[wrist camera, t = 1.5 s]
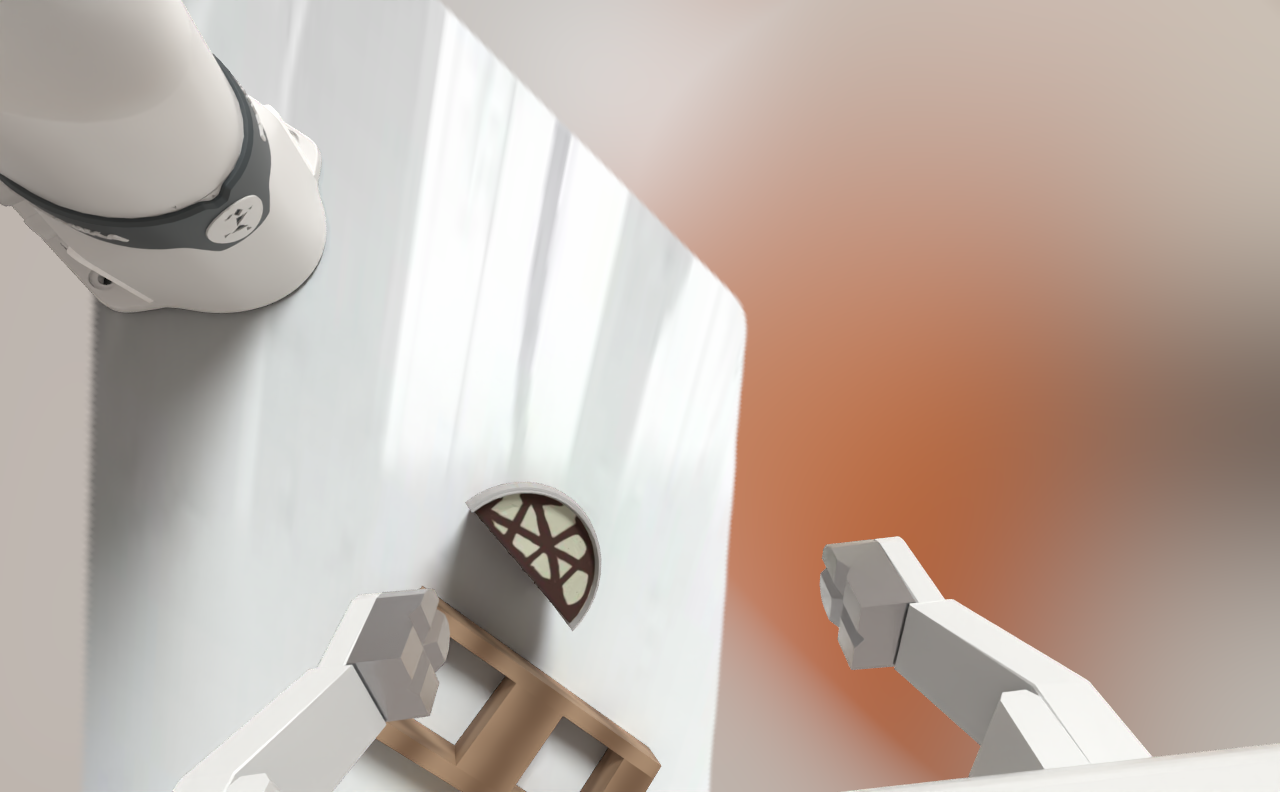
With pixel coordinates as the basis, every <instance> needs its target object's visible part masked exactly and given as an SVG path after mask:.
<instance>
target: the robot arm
mask: <svg viewBox="0 0 1280 792" xmlns="http://www.w3.org/2000/svg"><path fill="white" fill-rule="evenodd" d="M321 164H322V157H321V152H320V150H319V149H318V147H317V146H316V144H315V143H314V142H313V141H312V140H311V139H310V138H308V137H307V136H305V135H304V134H302V133H301V132H299V131H298V130H296V129H294V128H293V127H291V126H290V125H288V124H287V123H285V122H284V121H283V120H282V118H281V117H280V115H279V114H278V113H277V111H276V110H275V109H274V108H273V107H272V106H270V105H262V104H261V103H260V102H258V101H257V100H255V99H254V98H252V97H251V96H249V95H247V94H246V92H245V90H244V89H243V87H242V86H241V85H240V83H238V81H237V80H236V79H235V77H234V76H233V75H232V74H231V73H230V71H229V70H228V69H227V68H226V67H225V66H224V64H223V63H222V62H221V61H220V60H219V59H218V58H217V57H216V56H215V55H214V54H213V53H212V52H211V51H210V49H209V47H208V45H207V44H206V42H205V40H204V38H203V37H202V35H201V33H200V31H199V30H198V28H197V26H196V24H195V23H194V21H193V19H192V17H191V16H190V14H189V12H188V10H187V9H186V7H185V5H184V3H183V2H182V0H0V204H2V205H4V206H12V207H13V208H14V209H15V210H16V211H17V212H18V213H19V214H20V215H21V216H22V218H23V219H24V222H25V224H26V225H27V226H28V227H29V228H30V229H31V230H33V231H34V232H35V233H36V234H37V235H39V236H40V237H41V238H42V239H43V240H44V241H45V243H47V245H48V246H49V247H50V248H51V249H52V250H53V251H54V252H55V253H56V254H57V256H58V257H59V258H60V259H61V260H62V261H63V262H64V263H65V264H66V265H67V266H68V268H69V269H70V270H71V271H72V272H73V273H74V274H75V275H76V276H77V277H78V278H79V279H80V281H81V282H82V283H83V284H84V285H85V286H86V287H87V288H88V289H89V290H90V291H91V293H92V294H93V295H94V296H95V297H96V298H97V299H98V300H99V301H100V302H101V303H103V304H104V305H106V306H107V307H109V308H110V309H112V310H114V311H118V312H126V313H128V312H140V311H147V310H154V309H159V308H164V307H170V308H181V309H188V310H194V311H200V312H209V313H232V312H241V311H247V310H252V309H256V308H260V307H263V306H266V305H269V304H271V303H273V302H276V301H278V300H280V299H282V298H283V297H285V296H287V295H288V294H290V293H291V292H293V291H294V290H295V289H297V288H298V287H299V286H300V285H301V284H302V283H303V282H304V281H305V280H306V279H307V278H308V277H309V276H310V274H311V273H312V272H313V270H314V269H315V267H316V266H317V264H318V262H319V260H320V258H321V255H322V253H323V250H324V246H325V241H326V231H327V226H326V216H325V211H324V207H323V204H322V201H321V197H320V194H319V189H318V181H319V176H320V171H321ZM105 278H107V279H108V280H110V281H112V283H111V284H109V285H104V279H105ZM822 559H823V561H824V563H825V565H826V569H825V570H824V571H823V572H822V573H821V575H820V576H821V577H820V590H821V598H822V602H823V605H824V608H825V611H826V613H827V616H828V618H829V620H830V621H831V622H833V623H834V624H835V625H837V626H838V627H839V634H838V641H839V644H840V646H841V648H842V650H843V653H844V655H845V657H846V659H847V661H848V664H849V666H850V668H851V670H855V669H868V668H879V667H893V666H895V668H894V669H895V670H896V671H898V672H899V673H900V674H901V675H902V676H903V677H904V678H905V679H907V680H908V681H909V682H910V683H911V684H912V685H913V686H914V687H915V688H917V689H918V690H919V691H920V692H921V693H922V694H924V696H926V697H927V698H928V699H929V700H930V701H931V702H932V703H933V704H935V705H936V706H937V707H938V708H939V709H940V710H941V711H943V712H944V713H945V714H946V715H947V716H948V717H949V718H950V719H951V720H953V721H954V722H955V723H956V724H957V725H958V726H959V727H960V728H962V729H963V730H964V731H965V732H966V733H967V734H968V735H969V736H971V737H972V738H973V739H974V740H975V741H976V742H977V743H978V744H979V745H981V747H980V749H979V752H978V754H977V757H976V759H975V762H974V764H973V767H972V769H971V772H970V774H969V778H961V779H952V780H943V781H935V782H925V783H917V784H907V785H898V786H889V787H880V788H871V789H862V790H853V791H844V792H1280V743H1276V744H1268V745H1258V746H1250V747H1241V748H1231V749H1222V750H1213V751H1204V752H1195V753H1186V754H1177V755H1169V756H1159V757H1152V756H1151V755H1150V754H1149V752H1148V751H1147V750H1146V749H1145V748H1144V746H1142V744H1141V743H1140V742H1139V740H1138V739H1137V738H1136V737H1135V736H1134V735H1133V733H1132V732H1131V731H1130V730H1129V729H1128V727H1127V726H1126V725H1125V724H1124V723H1123V722H1122V720H1121V719H1120V718H1119V717H1118V715H1117V714H1116V713H1115V712H1114V711H1113V709H1112V708H1111V707H1110V706H1109V705H1108V703H1107V702H1106V701H1105V700H1104V699H1103V697H1102V696H1101V695H1100V694H1099V693H1098V691H1097V690H1096V689H1095V688H1094V687H1093V686H1092V684H1091V683H1090V682H1089V681H1088V680H1086V679H1085V678H1083V677H1081V676H1080V675H1078V674H1076V673H1074V672H1073V671H1071V670H1070V669H1068V668H1066V667H1064V666H1063V665H1061V664H1060V663H1058V662H1056V661H1054V660H1053V659H1051V658H1050V657H1048V656H1046V655H1045V654H1043V653H1041V652H1040V651H1038V650H1036V649H1035V648H1033V647H1031V646H1030V645H1028V644H1026V643H1024V642H1023V641H1021V640H1019V639H1018V638H1016V637H1015V636H1013V635H1011V634H1010V633H1008V632H1006V631H1005V630H1003V629H1001V628H1000V627H998V626H996V625H995V624H993V623H991V622H990V621H988V620H986V619H985V618H983V617H981V616H980V615H978V614H976V613H974V612H973V611H971V610H970V609H968V608H966V607H965V606H963V605H961V604H960V603H958V602H956V601H955V600H953V599H950V600H945V599H944V598H943V596H942V595H941V593H940V592H939V590H938V589H937V588H936V586H935V585H934V583H933V582H932V580H931V579H930V577H929V576H928V575H927V573H926V572H925V570H924V569H923V567H922V566H921V564H920V563H919V562H918V560H917V559H916V557H915V556H914V554H913V553H912V552H911V550H910V549H909V547H908V546H907V544H906V543H905V541H904V540H903V539H901V538H900V537H890V538H881V539H874V540H863V541H854V542H846V543H838V544H829V545H826V546H825V548H824V549H823V556H822ZM438 603H439V598H438V596H437V594H436V592H435V590H434V589H417V590H405V591H393V592H382V593H374V594H362V595H358V596H357V597H355V598H354V599H353V600H352V601H351V603H350V605H349V607H348V609H347V610H346V612H345V614H344V616H343V618H342V620H341V622H340V624H339V626H338V628H337V630H336V632H335V634H334V636H333V637H332V639H331V641H330V643H329V645H328V647H327V649H326V651H325V653H324V655H323V657H322V659H321V661H320V663H319V664H318V666H317V668H315V669H309V670H308V671H306V672H305V673H304V674H303V675H302V676H301V677H299V678H298V679H297V680H296V681H295V682H294V683H292V684H291V685H290V686H289V687H288V688H287V689H285V690H284V691H283V692H282V693H281V694H279V695H278V696H277V697H276V698H275V699H274V700H272V701H271V702H270V703H269V704H268V705H267V706H265V707H264V708H263V709H262V710H261V711H260V712H258V713H257V714H256V715H255V716H254V717H253V718H251V719H250V720H249V721H248V722H247V723H246V724H244V725H243V726H242V727H241V728H240V729H239V730H237V731H236V732H235V733H234V734H233V735H232V736H230V737H229V738H228V739H227V740H226V741H225V742H223V743H222V744H221V745H220V746H219V747H217V748H216V749H215V750H214V751H213V752H212V753H210V754H209V755H208V756H207V757H206V758H205V759H203V760H202V761H201V762H200V763H199V764H198V765H196V766H195V767H194V768H193V769H192V770H191V771H189V772H188V773H187V774H186V775H185V776H184V777H182V778H181V779H180V780H179V782H178V783H177V785H176V786H175V788H174V789H173V791H172V792H333V791H334V789H335V788H336V787H337V786H338V784H339V783H340V782H341V781H342V779H343V778H344V777H345V776H346V774H347V773H348V772H349V771H350V769H351V768H352V767H353V766H354V764H355V763H356V762H357V761H358V760H359V758H360V757H361V756H362V755H363V753H364V752H365V751H366V750H367V748H368V747H369V746H370V745H371V743H372V742H373V741H374V740H375V738H376V737H377V736H378V735H379V733H380V732H381V731H382V730H383V728H384V727H385V726H386V722H390V721H397V720H404V719H412V718H419V717H426V716H430V713H431V710H432V706H433V703H434V699H435V696H436V693H437V689H438V686H439V681H438V679H437V677H436V674H435V672H436V671H437V670H438V669H439V668H440V667H441V666H442V665H443V664H444V663H445V662H446V658H447V654H448V650H449V641H450V630H449V623H448V620H447V618H446V615H445V614H444V613H442V612H440V611H439V610H437V606H438Z"/></svg>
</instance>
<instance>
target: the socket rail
mask: <svg viewBox="0 0 1280 792" xmlns="http://www.w3.org/2000/svg"><path fill="white" fill-rule="evenodd" d="M420 589H426V588H425V587H423V586H422V587H421V588H420ZM438 598H439V597H438ZM437 610H439V611H440V612H442V613H444V614H445V615H446V618H447V620H448V623H449V630H450V637H451V638H452V639H454V640H455V641H457V642H458V643H459V644H461V645H462V646H464V647H465V648H467V649H468V650H469V651H471V652H472V653H474V654H475V655H477V656H478V657H479V658H481V659H482V660H484V661H485V662H487V663H488V664H489V665H491V666H492V667H494V668H495V669H497V670H498V671H499V672H501V673H502V674H504V675H505V678H504V679H503V680H502V682H501V683H500V684H499V686H498V687H497V689H496V690H495V691H494V693H493V694H492V695H491V697H490V698H489V699H488V701H487V702H486V703H485V705H484V706H483V707H482V709H481V710H480V712H479V713H478V714H477V716H476V717H475V718H474V720H473V721H472V722H471V724H470V725H469V726H468V728H467V729H466V730H465V732H464V733H463V735H462V736H461V737H460V739H459V740H458V741H457V743H456V744H455V745H453V744H452V743H450V742H448V741H447V740H445V739H444V738H442V737H441V736H439V735H438V734H436V733H434V732H433V731H431V730H430V729H428V728H427V727H425V726H424V725H422V724H420V723H419V722H417V721H416V720H414V719H413V718H412V719H404V720H397V721H390V722H386V726H385V727H384V728H383V730H382V731H381V732H380V733H379V735H378V736H377V737H376V739H377V740H379V741H381V742H382V743H384V744H385V745H387V746H389V747H390V748H392V749H393V750H395V751H397V752H398V753H400V754H402V755H403V756H405V757H406V758H408V759H410V760H411V761H413V762H414V763H416V764H418V765H419V766H421V767H422V768H424V769H426V770H427V771H429V772H431V773H432V774H434V775H435V776H437V777H439V778H440V779H442V780H443V781H445V782H447V783H448V784H450V785H452V786H453V787H455V788H456V789H458V790H460V791H461V792H526V791H525V790H523V789H522V788H520V787H518V786H517V785H516V783H517V782H518V780H519V779H520V778H521V776H522V775H523V773H524V772H525V770H526V769H527V767H528V766H529V764H530V763H531V762H532V760H533V759H534V757H535V756H536V754H537V753H538V751H539V750H540V748H541V747H542V746H543V744H544V743H545V741H546V740H547V738H548V737H549V735H550V734H551V732H552V731H553V730H554V728H555V727H556V725H557V724H558V722H559V721H560V719H561V718H562V716H564V717H565V718H567V719H568V720H570V721H571V722H573V723H574V724H575V725H577V726H578V727H580V728H581V729H583V730H584V731H585V732H587V733H588V734H590V735H591V736H593V737H594V738H595V739H597V740H598V741H600V742H601V743H603V744H604V745H606V746H607V747H608V749H607V751H606V752H605V754H604V755H603V757H602V759H601V760H600V762H599V763H598V765H597V766H596V768H595V769H594V771H593V772H592V774H591V776H590V777H589V779H588V780H587V782H586V783H585V785H584V786H583V788H582V789H581V791H580V792H646V790H647V789H648V787H649V785H650V784H651V782H652V780H653V779H654V777H655V776H656V774H657V772H658V771H659V769H660V767H661V764H660V763H659V762H658V760H657V759H656V757H655V756H654V754H653V753H652V752H651V750H650V749H649V747H647V746H646V745H644V744H643V743H642V742H640V741H639V740H637V739H636V738H635V737H633V736H632V735H630V734H629V733H628V732H626V731H625V730H623V729H622V728H621V727H619V726H618V725H616V724H615V723H614V722H612V721H611V720H609V719H608V718H607V717H605V716H604V715H603V714H601V713H600V712H598V711H597V710H596V709H594V708H593V707H591V706H590V705H589V704H587V703H586V702H584V701H583V700H582V699H580V698H579V697H577V696H576V695H575V694H573V693H572V692H570V691H569V690H568V689H566V688H565V687H563V686H562V685H561V684H559V683H558V682H556V681H555V680H554V679H552V678H551V677H549V676H548V675H547V674H545V673H544V672H542V671H541V670H540V669H538V668H537V667H535V666H534V665H533V664H531V663H530V662H528V661H527V660H526V659H524V658H523V657H521V656H520V655H519V654H517V653H516V652H514V651H513V650H512V649H510V648H509V647H507V646H506V645H505V644H503V643H502V642H500V641H499V640H498V639H496V638H495V637H493V636H492V635H491V634H489V633H488V632H486V631H485V630H484V629H482V628H481V627H479V626H478V625H477V624H475V623H474V622H472V621H471V620H470V619H468V618H467V617H465V616H464V615H463V614H461V613H460V612H458V611H457V610H456V609H454V608H453V607H451V606H450V605H449V604H447V603H446V602H444V601H443V600H442V599H440V598H439V603H438V606H437Z"/></svg>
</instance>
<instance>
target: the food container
mask: <svg viewBox="0 0 1280 792" xmlns="http://www.w3.org/2000/svg"><path fill="white" fill-rule="evenodd" d="M465 503H466V505H467V506H468V508H469V509H470V510H471V512H472V513H473V512H475V513H476V514H477V515H478V517H479V518H480V519H481V521H482V522H484V524H485V525H486V526H487V527H488V528H489V529H490V532H492V533H493V534H494V536H495V537H496V538H497V539H498V540H499V541H500V542H501V544H502V545H503V546H504V547H505V548H506V549H507V550H508V552H509V554H510V555H511V556H512V557H513V558H514V559H515V560H516V561H517V562H518V563H519V564H520V566H521V568H523V571H525V572H526V573H527V574H528V576H529V577H530V578H531V579H532V580H533V581H534V584H535V583H536V585H537V586H538V588H540V590H541V591H542V592H543V593H544V595H545V596H546V597H547V598H548V599H549V601H550V602H551V603H552V604H553V606H554V607H555V608H556V610H557V611H558V612H559V614H560V615H561V616H562V618H563V619H564V620H565V622H566V623H567V624H568V626H569V627H570V628H571V630H572V631H573V630H574V629H575V628H576V627H577V626H578V625H579V623H580V622H581V621H582V619H583V618H584V616H585V615H586V613H587V612H588V610H589V608H590V606H591V604H592V602H593V600H594V598H595V595H596V592H597V589H598V586H599V580H600V575H601V554H600V547H599V543H598V539H597V536H596V533H595V530H594V528H593V526H592V524H591V522H590V520H589V518H588V517H587V515H586V514H585V512H584V511H583V509H582V508H581V507H580V506H579V505H578V504H577V503H576V502H575V501H574V500H573V499H571V498H570V497H569V496H567V495H566V494H565V493H563V492H561V491H559V490H557V489H555V488H553V487H550V486H546V485H543V484H539V483H532V482H513V483H507V484H501V485H498V486H495V487H492V488H489V489H487V490H485V491H483V492H481V493H479V494H477V495H475V496H474V497H472V498H471V499H470V500H468V501H467V502H465Z"/></svg>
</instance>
